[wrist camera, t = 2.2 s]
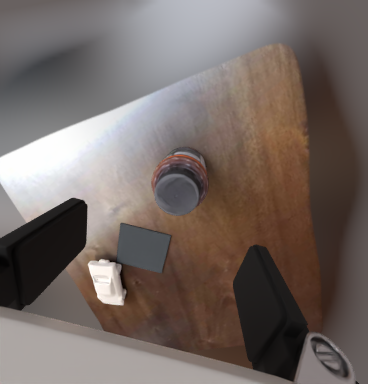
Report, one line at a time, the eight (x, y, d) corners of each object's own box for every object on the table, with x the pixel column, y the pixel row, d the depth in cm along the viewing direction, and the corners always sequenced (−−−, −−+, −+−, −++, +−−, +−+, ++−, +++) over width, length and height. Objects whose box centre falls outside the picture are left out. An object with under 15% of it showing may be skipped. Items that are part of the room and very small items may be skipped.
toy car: (104, 296, 38) (95, 312, 35) (93, 253, 33) (81, 266, 30) (128, 299, 37) (121, 315, 34) (120, 255, 32) (111, 269, 29)
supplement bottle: (192, 192, 27) (188, 236, 16) (158, 173, 26) (131, 207, 16) (213, 158, 25) (224, 185, 14) (177, 137, 24) (159, 149, 14)
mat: (116, 261, 33) (116, 261, 33) (121, 222, 30) (120, 223, 30) (161, 272, 34) (161, 273, 33) (171, 235, 30) (170, 236, 30)
